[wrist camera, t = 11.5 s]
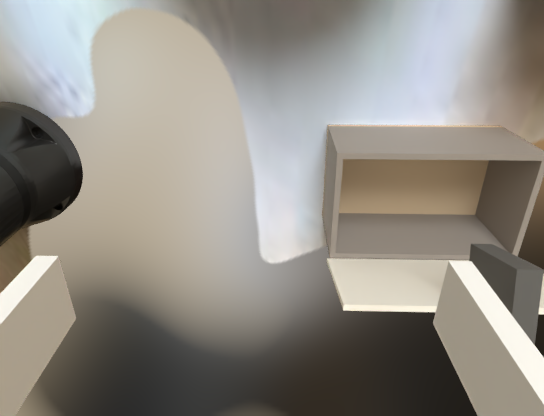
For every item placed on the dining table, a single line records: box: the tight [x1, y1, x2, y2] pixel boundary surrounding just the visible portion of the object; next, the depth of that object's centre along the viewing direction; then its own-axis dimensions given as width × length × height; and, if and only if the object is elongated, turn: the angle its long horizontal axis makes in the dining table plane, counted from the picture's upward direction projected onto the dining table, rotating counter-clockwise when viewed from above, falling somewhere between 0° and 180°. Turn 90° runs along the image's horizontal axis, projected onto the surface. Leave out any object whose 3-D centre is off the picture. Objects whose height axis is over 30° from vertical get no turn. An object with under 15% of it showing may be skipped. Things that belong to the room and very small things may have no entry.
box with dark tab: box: [327, 244, 544, 345], centre depth 34 cm, size 21×18×6 cm
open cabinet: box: [322, 125, 544, 260], centre depth 45 cm, size 20×12×10 cm, turn 90°
